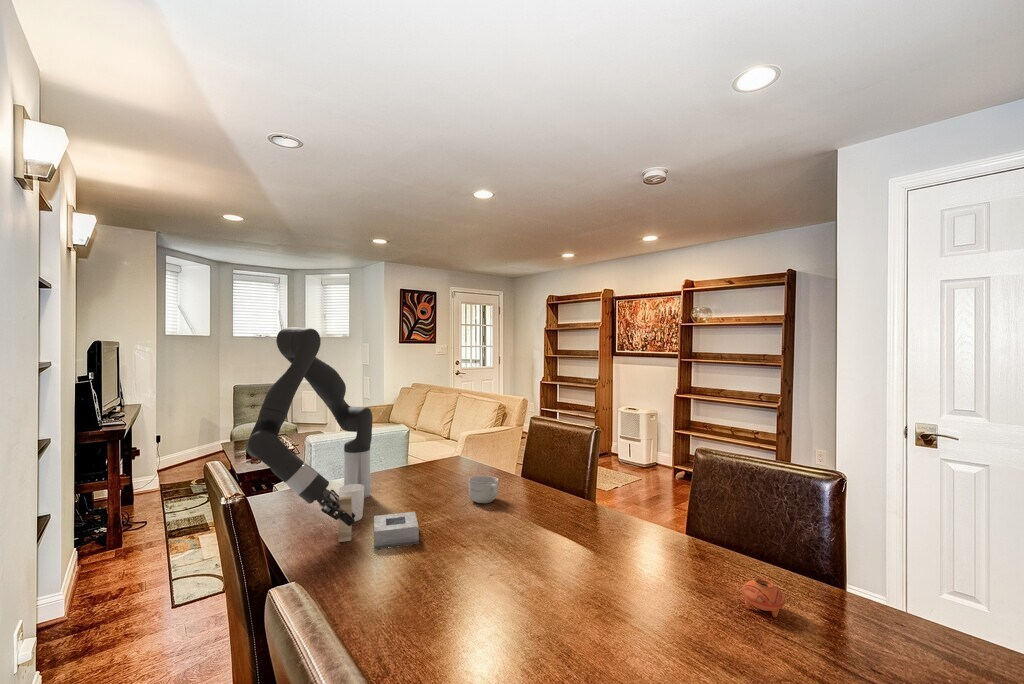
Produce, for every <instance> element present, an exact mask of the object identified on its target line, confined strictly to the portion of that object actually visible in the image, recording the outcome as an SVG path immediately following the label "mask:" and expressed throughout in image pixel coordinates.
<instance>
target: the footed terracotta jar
mask: <svg viewBox="0 0 1024 684" xmlns="http://www.w3.org/2000/svg"><path fill="white" fill-rule="evenodd" d="M741 592H742V594H743V596H744V604H745V607H746V608H747V609H748V610H750V608H751V606H754V607H755V608H757V609H759V610H762V611H766V612H767V611H768V612H771V614H772V618H777V617H778V614H779V611H780V609H782V607H784V605H785V603H786V597H785V595H784V594H783V593H782V591H781V590H780V589H779V588H778V586H776V585H775V584H774V583H773V582H772V581H770V580H769V579H765V578H762V577H755V578H754V579H750V580H748V581H746V582H745V583H744V584H743V586H742V587H741Z"/></svg>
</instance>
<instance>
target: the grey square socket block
mask: <svg viewBox="0 0 1024 684" xmlns="http://www.w3.org/2000/svg"><path fill="white" fill-rule="evenodd" d="M419 531H420V530H419V523H418V519H417V514H416V511H409V512H407V511H406V512H399V513H389V514H381V515H374V516H373V534H374V535H373V550H374V549H378V550H382V549H381V548H386V549H389V548H388V547H393V548H398V547H397V546H401V547H407V546H406V545H409V546H414V545H413V544H416V545H419V544H420V542H419V541H420V540H419V538H420V535H419Z"/></svg>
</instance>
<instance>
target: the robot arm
mask: <svg viewBox="0 0 1024 684" xmlns="http://www.w3.org/2000/svg"><path fill="white" fill-rule="evenodd" d="M319 333H320V332H318V331H317V329H314V328H311V327H295V326H294V327H285V328H282V329H281V330H279V331H278V333H277V335H276V346H277V349H278V351H279V352H280V354H281V355H282V356H283V357H284V358H285V359H286V360H287V361H288V362H289V363H290V366H289V367H288V368H287V369H286V371H285V372H284V373H283V374H282V375H281V376H280V377H279V378H278V379H277V380H276V381H275V382H274V383H273V385H272V386H271V387H270V388H269V389H268V391H267V393H266V395H265V397H264V399H263V402H262V405H261V408H260V410H259V412H258V413H259V414H258V417H257V420H256V422H255V425H254V426H253V428H252V431H251V433H250V435H249V437H248V439H247V441H246V446H245V447H246V452H247V454H248V455H249V456H250V457H251V458H255V459H258V460H259V461H261V462H262V463H263V464H265V465H266V466H267V467H268V468H269V469H270V470H271V472H272V473H273V474H274V475H275V476H276V477H277V478H278V479H280V480H281V481H282V482H283V483H285V485H286V486H287V487H288V488H289V489H290V490H291V491H293V492H294V493H295V494H296V495H297V496H298V497H300V498H301V499H303V500H304V501H305V502H306V503H307V504H313V503H314V502H317V503H318V504H319V507H320V508H321V509H320V510H321V512H322V513H324V514H326V515H327V516H328V517H330V518H333V519H334V520H335V521H338V520H339V519H341V520H342V521H343V522H344V523H345V524H347V525H348V526H351V525H352V526H353V524H354V523H355V522H356V521H355V519H354V518H355V514H354V513H353V512H352V517H351V516H350V515H349V514H348V513H346V512H345V510H343V509H342V508H341V507H340V504H339V493H337V492H336V491H335V490H334V489H330V490H329V489H327V488H328V487H329V485H330V482H329V481H328V479H326V478H325V477H324V476H323V475H321V474H320V473H319V472H318V471H317V470H315V468H313V467H312V466H311V465H309V464H307V463H306V462H305V461H304V460H302V459H301V458H300V457H299V456H297V455H296V454H295V453H293V452H292V451H291V450H290V449H289V448H288V447H287V446H286V445H285V443H284V442H283V441H282V440H281V439H280V438H279V437H278V436H279V434H280V431H281V427H282V425H284V424H283V423H285V421H286V419H287V416H288V413H289V411H290V407H291V406H292V402H293V400H294V397H295V395H296V393H297V391H298V389H299V387H300V386H301V383H302V381H303V380H304V379H305V380H306V381H307V382H308V384H309V385H310V387H311V388H312V389H313V391H314V392H315V393H316V394H317V396H318V397H319V398H320V399H321V400H322V401H323V403H324V404H325V405H326V407H327V408H328V410H329V411H330V412H331V414H332V415H333V417H334V419H335V421H336V423H337V424H338V425H339V427H340V428H341V429H342V430H343V431H345V432H348V433H349V432H350V433H351V432H352V433H356V435H355V436H356V437H355V438H354V439H352V440H349V441H347V442H345V443H344V445H343V460H344V461H343V475H344V476H343V479H344V480H343V486H345V485H350V484H361V485H364V500H365V499H367V497H368V498H369V497H371V444H372V438H373V436H372V435H373V433H372V432H373V413H372V410H371V408H369V407H366V406H351V405H349V404H348V403H347V402H346V400H345V396H346V393H347V391H346V390H347V388H346V387H347V386H346V383H345V381H344V379H343V378H342V377H341V375H340V374H339V372H338V371H337V370H336V369H335V368H334V367H332V366H331V365H330V364H328V363H326V362H325V361H322V360H321V359H319V358H318V357H317V355H318V352H319V351H320V348H321V340H322V339H321V336H320V334H319Z"/></svg>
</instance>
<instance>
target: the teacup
mask: <svg viewBox="0 0 1024 684" xmlns="http://www.w3.org/2000/svg"><path fill="white" fill-rule="evenodd" d="M498 494H499V478H498V477H495V476H492V475H491V476H490V475H475V476H471V477H469V478H468V496H469V498H470V499H471V500H473V502H475V503H477V504H488V503H492V502H493V501H494V500H495V499H496V498H497V496H498Z"/></svg>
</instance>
